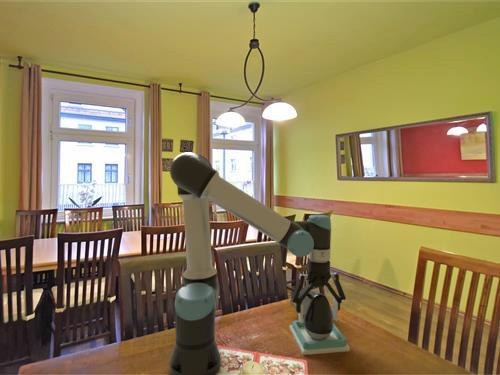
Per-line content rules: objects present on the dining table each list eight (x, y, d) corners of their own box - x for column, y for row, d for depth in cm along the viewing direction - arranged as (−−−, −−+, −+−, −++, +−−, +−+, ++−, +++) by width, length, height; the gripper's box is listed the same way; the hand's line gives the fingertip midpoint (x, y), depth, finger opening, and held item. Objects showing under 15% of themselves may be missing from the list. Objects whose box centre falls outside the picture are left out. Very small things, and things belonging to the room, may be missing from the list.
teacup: (321, 308, 125) (321, 290, 124) (325, 321, 114) (325, 301, 113) (288, 306, 126) (289, 289, 126) (289, 319, 115) (290, 300, 115)
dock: (302, 354, 93) (303, 345, 93) (289, 328, 109) (289, 320, 108) (349, 351, 95) (350, 341, 95) (329, 325, 111) (330, 317, 111)
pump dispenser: (308, 322, 109) (310, 284, 107) (336, 332, 103) (339, 292, 101) (297, 336, 100) (300, 295, 98) (327, 348, 95) (330, 304, 93)
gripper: (288, 264, 95) (287, 328, 96) (357, 261, 98) (355, 323, 99) (282, 257, 102) (281, 316, 103) (346, 255, 106) (345, 312, 107)
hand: (317, 320), depth 101 cm, fingers open, 12 cm apart
